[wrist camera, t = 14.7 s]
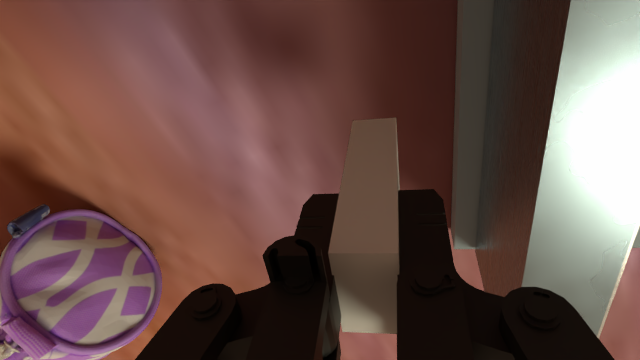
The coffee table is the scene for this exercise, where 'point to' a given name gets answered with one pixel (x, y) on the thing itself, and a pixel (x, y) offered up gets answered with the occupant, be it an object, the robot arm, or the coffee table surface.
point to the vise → (472, 117)
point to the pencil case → (73, 286)
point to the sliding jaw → (561, 150)
